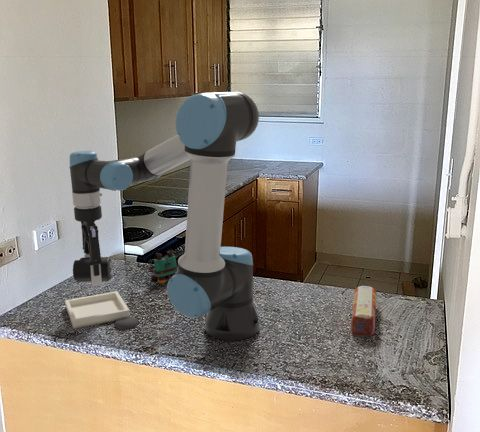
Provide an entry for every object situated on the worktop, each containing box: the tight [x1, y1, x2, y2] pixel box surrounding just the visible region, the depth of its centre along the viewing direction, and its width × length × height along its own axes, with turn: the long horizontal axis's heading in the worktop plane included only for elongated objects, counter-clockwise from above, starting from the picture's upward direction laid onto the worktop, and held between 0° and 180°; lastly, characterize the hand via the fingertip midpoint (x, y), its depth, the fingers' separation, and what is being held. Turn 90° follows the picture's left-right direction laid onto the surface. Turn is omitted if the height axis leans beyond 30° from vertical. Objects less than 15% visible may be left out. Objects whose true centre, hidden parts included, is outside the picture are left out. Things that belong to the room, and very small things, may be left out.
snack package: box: [350, 285, 378, 337], centre depth 149 cm, size 21×7×7 cm, turn 165°
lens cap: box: [114, 317, 139, 331], centre depth 150 cm, size 6×6×1 cm
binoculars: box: [148, 249, 178, 284], centre depth 183 cm, size 9×11×10 cm
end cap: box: [72, 256, 112, 283], centre depth 154 cm, size 10×7×7 cm
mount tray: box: [64, 290, 131, 330], centre depth 157 cm, size 16×16×2 cm
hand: (93, 279), depth 155 cm, fingers closed on end cap, 9 cm apart
